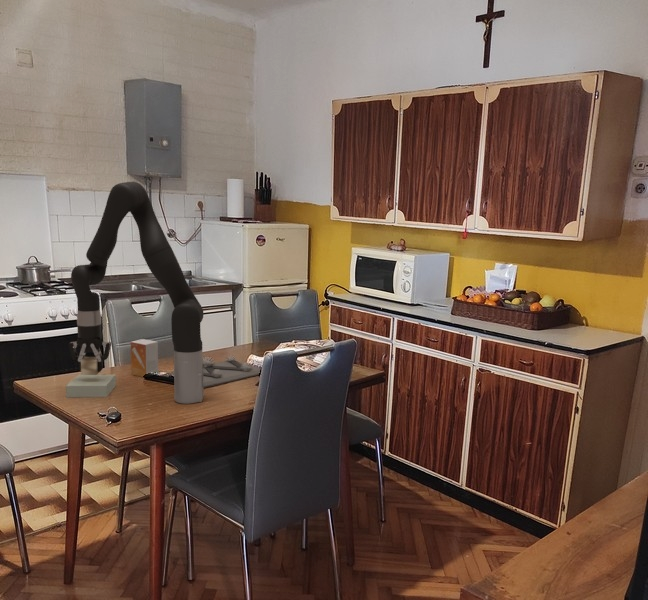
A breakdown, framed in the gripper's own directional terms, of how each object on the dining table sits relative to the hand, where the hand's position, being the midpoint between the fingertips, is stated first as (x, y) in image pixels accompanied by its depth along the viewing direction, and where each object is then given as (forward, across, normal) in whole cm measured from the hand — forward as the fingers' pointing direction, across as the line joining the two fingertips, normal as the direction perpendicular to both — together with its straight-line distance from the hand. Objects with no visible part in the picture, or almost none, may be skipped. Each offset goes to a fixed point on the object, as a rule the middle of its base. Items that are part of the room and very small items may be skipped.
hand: (90, 371), depth 199 cm
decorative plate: (+8, -42, -18) cm, 46 cm away
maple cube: (0, 0, 0) cm, 0 cm away
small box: (+7, -14, -20) cm, 26 cm away
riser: (+7, 0, 0) cm, 7 cm away
